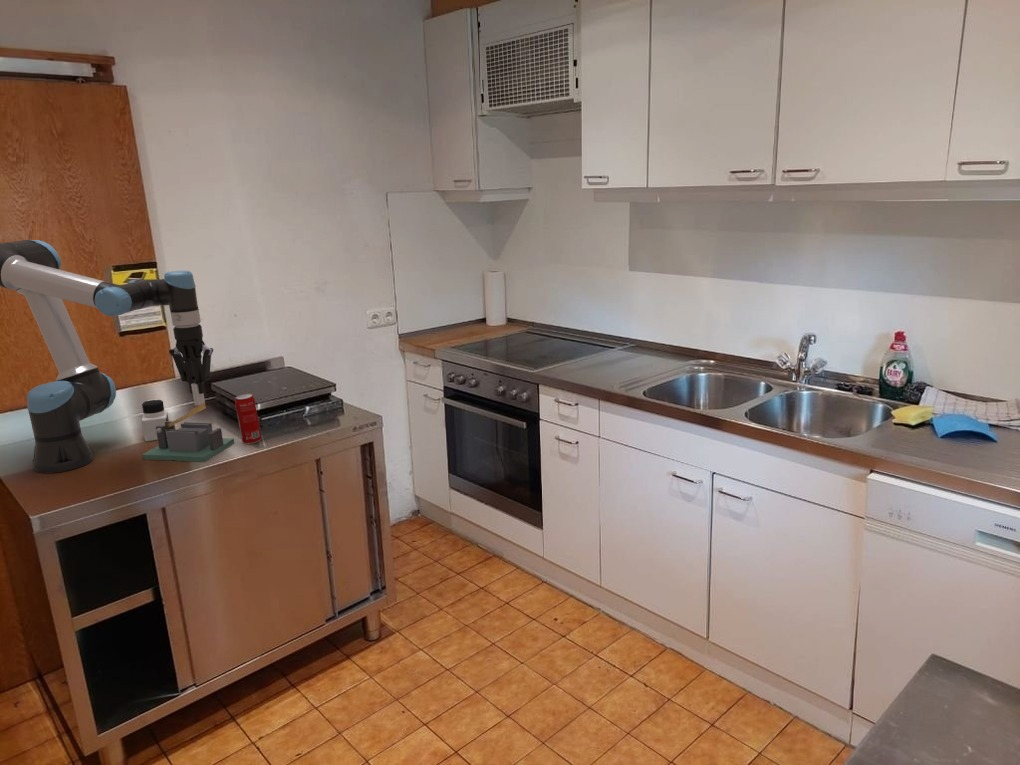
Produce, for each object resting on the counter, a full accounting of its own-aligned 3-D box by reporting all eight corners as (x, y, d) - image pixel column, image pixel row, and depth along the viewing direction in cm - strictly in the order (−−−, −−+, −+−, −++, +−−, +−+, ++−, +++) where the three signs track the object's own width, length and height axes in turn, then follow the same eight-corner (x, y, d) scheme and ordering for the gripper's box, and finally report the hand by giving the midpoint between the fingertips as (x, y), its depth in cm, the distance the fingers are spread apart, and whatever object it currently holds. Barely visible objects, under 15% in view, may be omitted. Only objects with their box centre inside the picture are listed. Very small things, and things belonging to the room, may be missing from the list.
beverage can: (265, 438, 233) (259, 392, 229) (253, 445, 227) (247, 398, 223) (248, 437, 235) (243, 391, 231) (236, 444, 229) (230, 397, 225)
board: (143, 459, 219) (138, 432, 216) (176, 440, 234) (172, 415, 232) (204, 462, 215) (200, 434, 213) (234, 443, 230) (230, 417, 228)
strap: (161, 431, 222) (158, 426, 222) (168, 427, 226) (165, 423, 225) (200, 410, 218) (197, 406, 218) (207, 407, 221) (204, 402, 221)
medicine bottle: (169, 438, 236) (163, 402, 233) (144, 441, 234) (138, 405, 230) (170, 431, 243) (164, 396, 239) (146, 435, 240) (140, 399, 237)
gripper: (158, 328, 211) (172, 407, 217) (200, 327, 208) (213, 408, 215) (174, 323, 218) (187, 400, 224) (215, 322, 216) (227, 400, 222)
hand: (199, 403), depth 219 cm, fingers closed
